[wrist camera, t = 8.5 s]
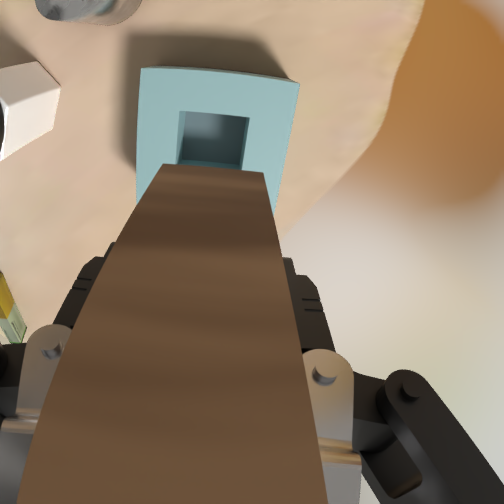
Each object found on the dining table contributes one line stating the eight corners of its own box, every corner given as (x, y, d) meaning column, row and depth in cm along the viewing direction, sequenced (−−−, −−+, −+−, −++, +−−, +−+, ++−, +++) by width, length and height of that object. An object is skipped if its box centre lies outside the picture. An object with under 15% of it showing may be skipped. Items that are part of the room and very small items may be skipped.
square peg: (162, 163, 12) (16, 503, 2) (263, 172, 13) (333, 540, 3) (162, 248, 14) (97, 537, 4) (250, 255, 15) (271, 553, 5)
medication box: (28, 327, 43) (22, 345, 40) (16, 326, 43) (9, 344, 39) (3, 272, 36) (-8, 290, 33) (-10, 271, 36) (-21, 289, 32)
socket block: (156, 65, 24) (141, 68, 20) (289, 79, 26) (300, 83, 22) (149, 184, 31) (136, 207, 27) (267, 196, 32) (272, 220, 28)
